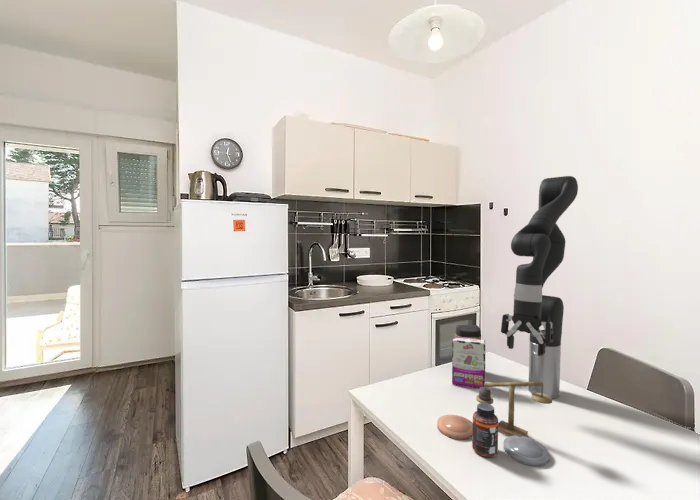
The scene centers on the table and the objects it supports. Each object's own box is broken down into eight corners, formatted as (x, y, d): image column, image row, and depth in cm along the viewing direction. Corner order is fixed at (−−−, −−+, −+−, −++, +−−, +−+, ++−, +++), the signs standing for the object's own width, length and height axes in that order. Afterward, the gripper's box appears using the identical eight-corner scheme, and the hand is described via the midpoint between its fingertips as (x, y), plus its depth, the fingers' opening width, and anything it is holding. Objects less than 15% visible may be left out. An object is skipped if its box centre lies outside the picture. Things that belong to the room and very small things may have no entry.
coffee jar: (477, 368, 135) (478, 323, 135) (483, 376, 128) (483, 328, 127) (453, 367, 137) (453, 322, 136) (456, 375, 129) (457, 327, 128)
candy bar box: (485, 384, 121) (486, 339, 120) (485, 390, 117) (485, 343, 116) (452, 379, 125) (453, 335, 125) (451, 384, 121) (452, 339, 120)
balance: (480, 415, 100) (481, 360, 100) (553, 446, 86) (555, 382, 85) (472, 420, 97) (473, 364, 97) (547, 454, 83) (549, 387, 82)
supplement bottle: (500, 460, 81) (501, 414, 80) (474, 456, 82) (475, 411, 81) (494, 444, 86) (495, 401, 86) (470, 441, 88) (471, 399, 87)
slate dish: (513, 435, 90) (513, 430, 90) (555, 453, 83) (555, 448, 83) (496, 450, 84) (496, 445, 84) (539, 472, 76) (539, 466, 76)
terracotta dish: (449, 414, 101) (449, 410, 101) (481, 429, 93) (481, 424, 93) (429, 427, 94) (430, 423, 94) (462, 444, 87) (462, 439, 86)
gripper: (558, 301, 100) (555, 356, 100) (509, 295, 110) (507, 344, 110) (549, 303, 95) (546, 360, 95) (499, 296, 105) (496, 348, 105)
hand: (525, 351), depth 103 cm, fingers open, 8 cm apart
